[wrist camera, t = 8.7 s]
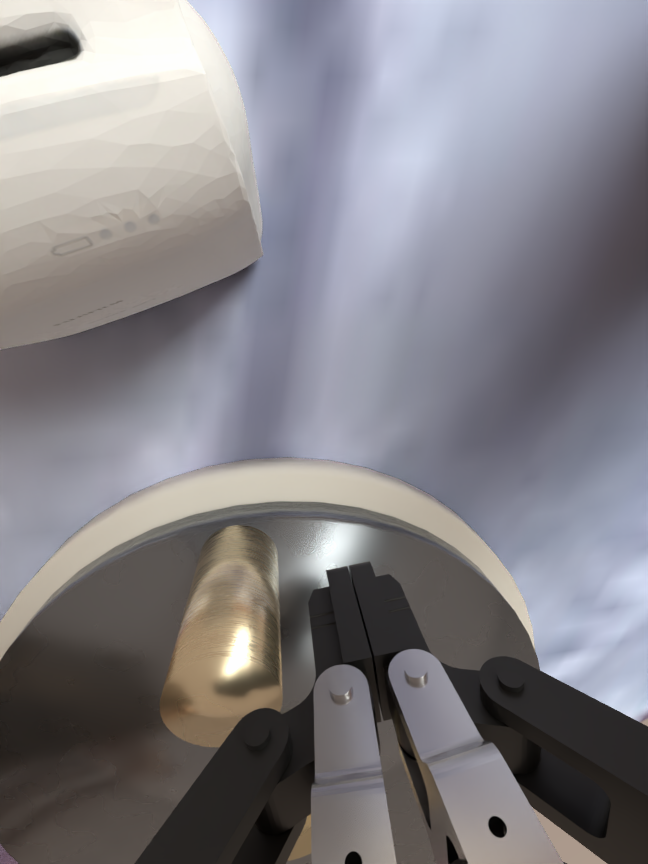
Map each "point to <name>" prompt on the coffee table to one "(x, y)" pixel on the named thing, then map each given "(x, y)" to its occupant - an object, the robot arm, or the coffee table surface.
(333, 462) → the base plate
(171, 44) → the photo printer
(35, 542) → the coffee table surface
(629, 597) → the coffee table surface
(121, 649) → the handwheel
